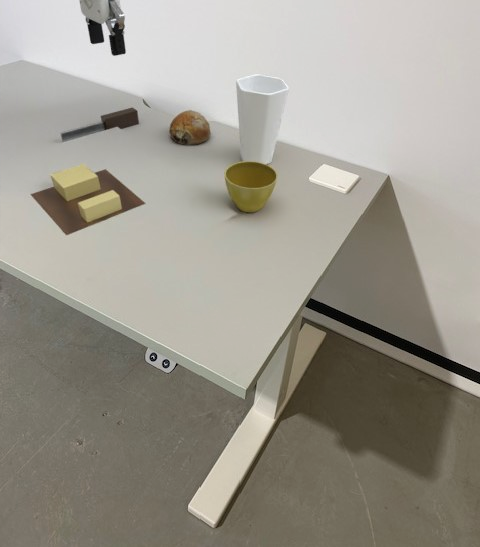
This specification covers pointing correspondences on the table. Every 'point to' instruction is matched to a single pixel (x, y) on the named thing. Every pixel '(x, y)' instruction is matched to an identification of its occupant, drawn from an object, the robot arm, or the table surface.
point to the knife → (104, 124)
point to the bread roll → (189, 128)
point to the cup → (260, 115)
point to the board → (68, 211)
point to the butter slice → (100, 206)
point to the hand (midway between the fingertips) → (108, 48)
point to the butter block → (75, 182)
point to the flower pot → (250, 184)
